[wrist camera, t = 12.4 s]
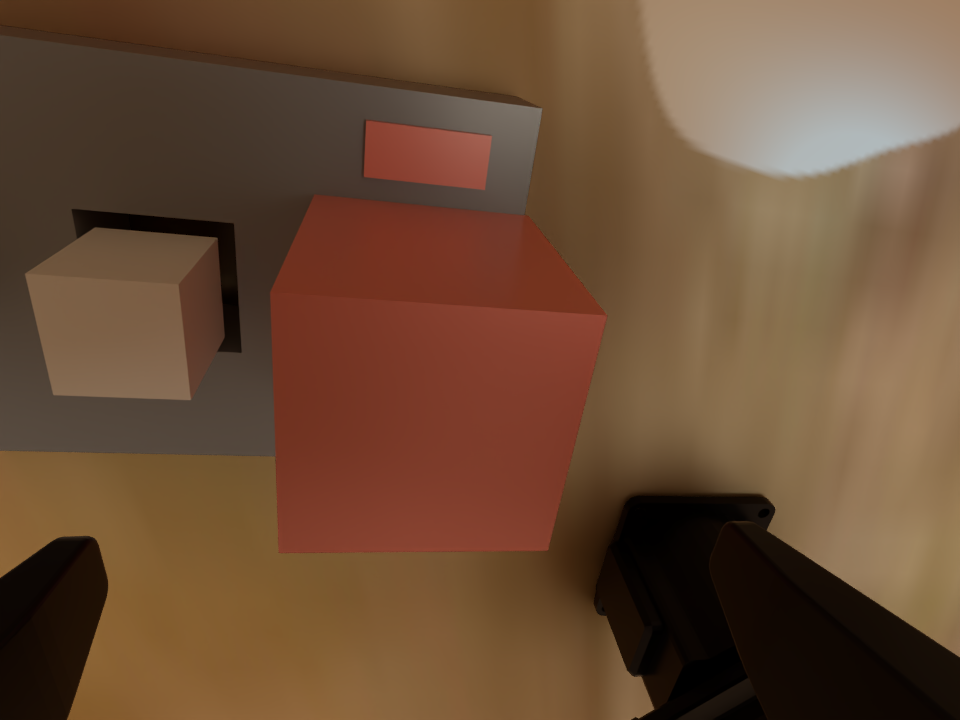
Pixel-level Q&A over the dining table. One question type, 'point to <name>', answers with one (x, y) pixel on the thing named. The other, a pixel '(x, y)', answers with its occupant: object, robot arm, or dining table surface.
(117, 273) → the block
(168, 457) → the dining table surface
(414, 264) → the cap
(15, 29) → the breaker panel
